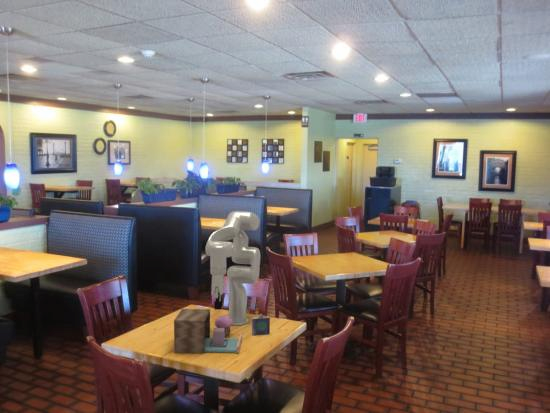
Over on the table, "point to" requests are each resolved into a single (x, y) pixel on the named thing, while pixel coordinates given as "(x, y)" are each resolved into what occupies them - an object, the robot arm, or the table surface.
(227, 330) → the cupcake
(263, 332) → the flask
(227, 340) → the tray
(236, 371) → the table surface
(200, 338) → the cabinet
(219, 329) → the block
